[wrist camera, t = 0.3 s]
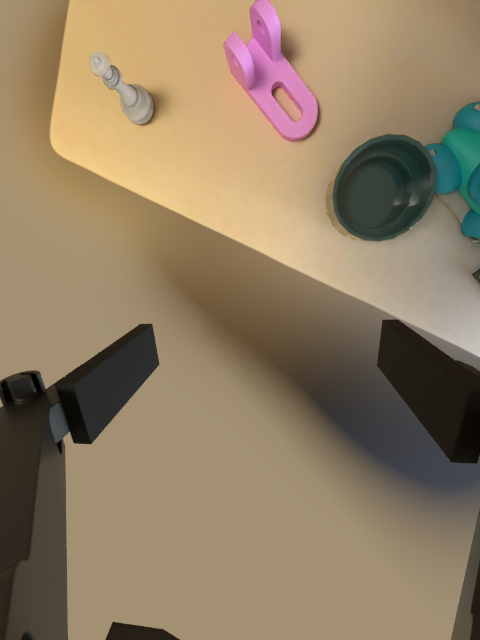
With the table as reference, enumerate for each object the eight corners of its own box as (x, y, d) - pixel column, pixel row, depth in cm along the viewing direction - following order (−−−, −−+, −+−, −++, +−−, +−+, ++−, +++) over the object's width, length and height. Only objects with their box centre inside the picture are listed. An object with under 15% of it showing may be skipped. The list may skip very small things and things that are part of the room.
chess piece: (150, 86, 37) (106, 27, 28) (156, 121, 38) (116, 75, 29) (122, 94, 38) (70, 38, 28) (129, 128, 39) (81, 85, 29)
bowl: (311, 182, 38) (316, 174, 33) (394, 129, 35) (414, 110, 30) (346, 255, 40) (356, 258, 35) (427, 211, 37) (451, 207, 32)
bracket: (231, 72, 36) (220, 35, 29) (261, 34, 34) (258, -15, 27) (292, 150, 37) (295, 132, 31) (324, 117, 36) (335, 90, 29)
